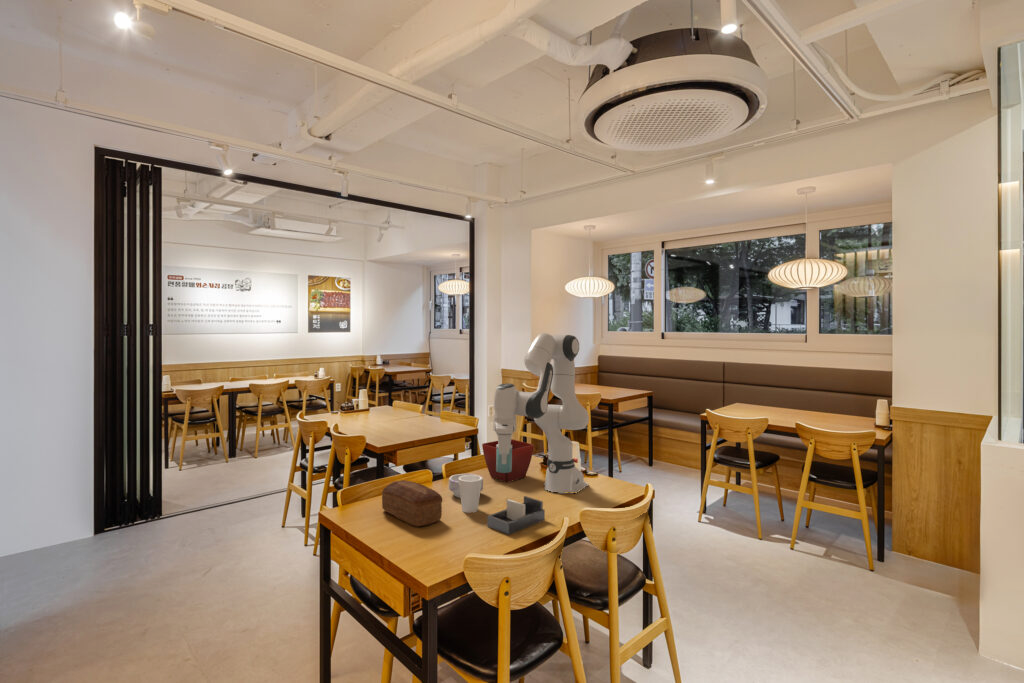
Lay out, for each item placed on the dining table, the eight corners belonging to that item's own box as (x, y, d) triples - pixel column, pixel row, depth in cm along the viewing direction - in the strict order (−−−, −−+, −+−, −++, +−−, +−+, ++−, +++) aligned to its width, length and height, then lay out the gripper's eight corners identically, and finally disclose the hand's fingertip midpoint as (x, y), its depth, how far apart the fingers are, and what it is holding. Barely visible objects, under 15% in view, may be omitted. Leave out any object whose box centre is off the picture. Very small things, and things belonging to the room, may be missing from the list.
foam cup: (485, 508, 200) (486, 477, 200) (472, 515, 192) (473, 482, 192) (467, 504, 205) (467, 473, 204) (453, 511, 197) (453, 479, 197)
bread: (416, 531, 176) (416, 498, 176) (376, 511, 196) (377, 480, 196) (447, 522, 186) (447, 489, 185) (406, 503, 206) (407, 474, 206)
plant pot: (506, 485, 231) (506, 450, 231) (480, 476, 245) (481, 443, 245) (534, 478, 244) (535, 444, 244) (509, 470, 258) (509, 438, 258)
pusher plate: (508, 516, 188) (509, 499, 188) (525, 522, 182) (525, 504, 182) (506, 517, 187) (506, 499, 187) (522, 523, 181) (523, 505, 181)
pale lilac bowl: (485, 490, 223) (485, 473, 223) (479, 501, 208) (480, 483, 208) (452, 489, 225) (452, 472, 225) (444, 500, 210) (445, 481, 210)
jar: (496, 468, 193) (496, 443, 193) (511, 468, 193) (512, 443, 193) (495, 472, 186) (496, 446, 187) (511, 473, 187) (512, 446, 187)
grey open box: (523, 512, 196) (523, 495, 196) (544, 520, 188) (544, 502, 188) (487, 526, 181) (487, 507, 181) (508, 535, 174) (508, 515, 174)
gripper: (497, 421, 200) (496, 455, 200) (496, 430, 180) (495, 467, 179) (512, 421, 200) (511, 455, 200) (513, 430, 180) (512, 468, 180)
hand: (504, 461), depth 190 cm, fingers closed on jar, 6 cm apart
